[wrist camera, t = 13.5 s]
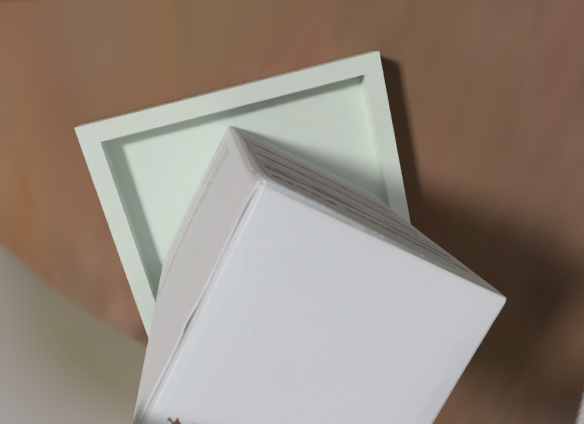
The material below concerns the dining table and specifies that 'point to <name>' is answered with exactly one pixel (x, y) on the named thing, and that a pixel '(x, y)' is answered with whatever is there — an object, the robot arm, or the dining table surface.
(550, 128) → the dining table surface
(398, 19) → the dining table surface
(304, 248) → the supplement box
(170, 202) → the pale green square tray
